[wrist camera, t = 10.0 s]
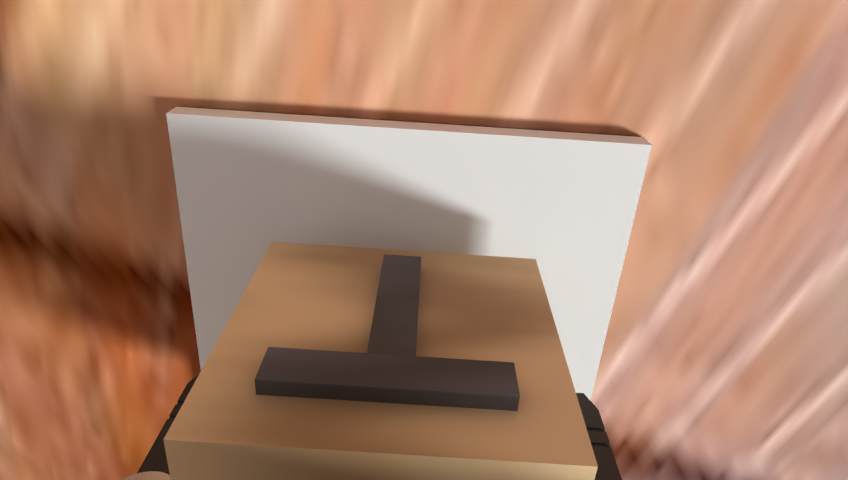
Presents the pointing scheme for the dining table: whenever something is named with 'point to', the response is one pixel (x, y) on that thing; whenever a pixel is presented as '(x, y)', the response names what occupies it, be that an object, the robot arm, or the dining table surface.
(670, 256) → the dining table surface
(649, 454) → the dining table surface
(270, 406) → the lettered block
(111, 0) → the dining table surface
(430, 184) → the white mat
